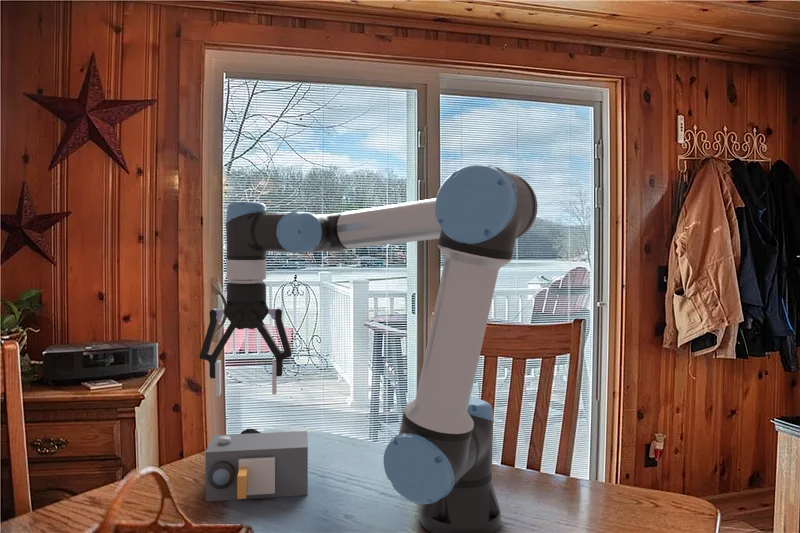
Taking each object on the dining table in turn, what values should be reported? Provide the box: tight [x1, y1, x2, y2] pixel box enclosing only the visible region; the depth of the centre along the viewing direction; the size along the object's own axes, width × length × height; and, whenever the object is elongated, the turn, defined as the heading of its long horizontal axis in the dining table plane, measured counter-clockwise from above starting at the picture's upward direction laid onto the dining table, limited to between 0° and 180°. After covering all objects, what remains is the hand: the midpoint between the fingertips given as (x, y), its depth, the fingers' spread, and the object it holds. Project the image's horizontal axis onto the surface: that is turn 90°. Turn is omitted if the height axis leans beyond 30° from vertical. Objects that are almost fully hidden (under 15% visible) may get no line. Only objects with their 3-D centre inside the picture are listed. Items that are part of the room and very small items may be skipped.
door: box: [237, 457, 275, 500], centre depth 113 cm, size 6×7×7 cm
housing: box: [205, 430, 309, 503], centre depth 120 cm, size 12×20×11 cm, turn 100°
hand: (246, 393), depth 114 cm, fingers open, 10 cm apart
